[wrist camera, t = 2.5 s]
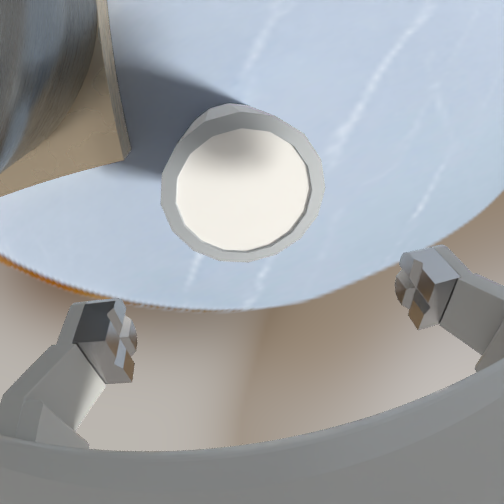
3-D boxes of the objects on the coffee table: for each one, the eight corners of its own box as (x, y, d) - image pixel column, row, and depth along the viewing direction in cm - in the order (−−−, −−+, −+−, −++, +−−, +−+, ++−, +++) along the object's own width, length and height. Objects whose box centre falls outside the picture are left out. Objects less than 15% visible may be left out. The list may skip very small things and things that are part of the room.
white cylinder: (182, 204, 20) (175, 272, 14) (168, 99, 16) (146, 123, 10) (286, 193, 20) (320, 255, 15) (286, 90, 16) (330, 109, 11)
